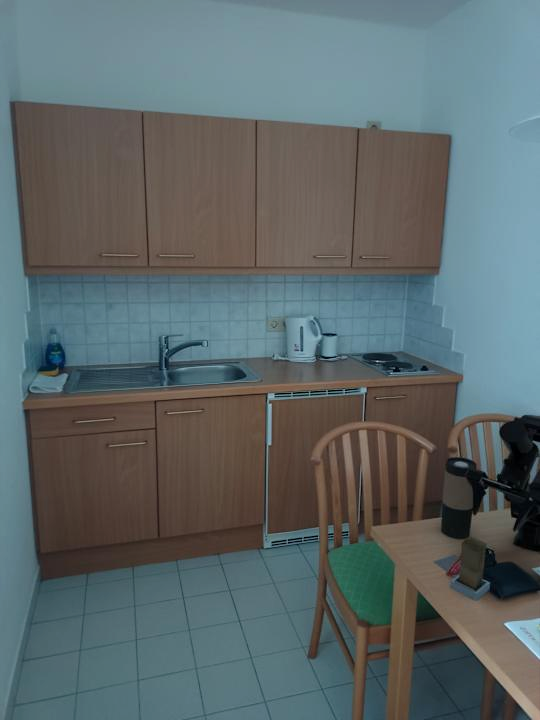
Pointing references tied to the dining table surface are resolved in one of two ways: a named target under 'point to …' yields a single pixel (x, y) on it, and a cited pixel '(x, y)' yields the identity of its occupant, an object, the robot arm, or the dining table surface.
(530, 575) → the dining table surface
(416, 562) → the dining table surface
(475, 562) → the olive tall block
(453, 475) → the travel mug
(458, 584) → the socket block
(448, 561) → the mat
